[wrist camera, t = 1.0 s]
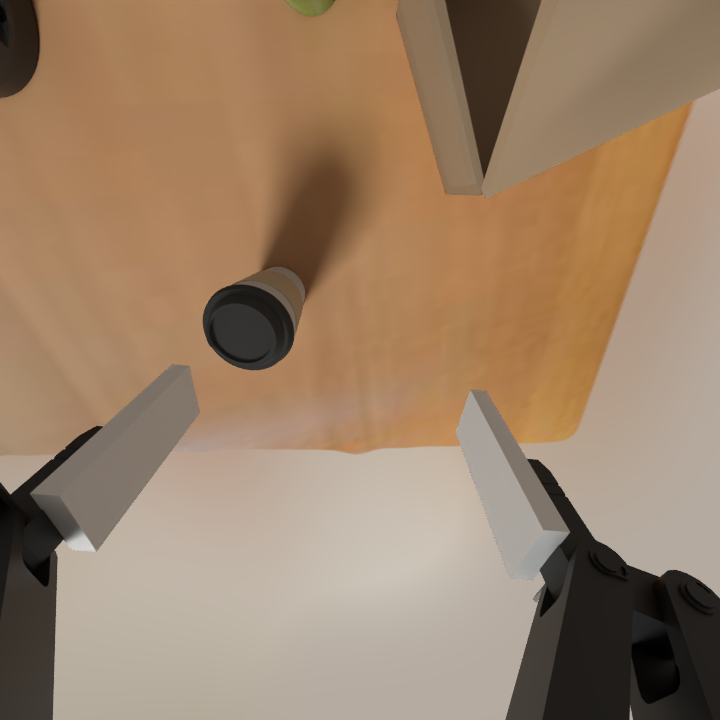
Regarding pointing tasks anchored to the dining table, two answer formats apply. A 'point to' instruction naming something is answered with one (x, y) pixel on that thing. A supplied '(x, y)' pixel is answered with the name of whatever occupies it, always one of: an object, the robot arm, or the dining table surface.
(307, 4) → the plant pot
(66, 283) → the dining table surface
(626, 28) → the flap
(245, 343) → the coffee cup
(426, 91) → the carton
